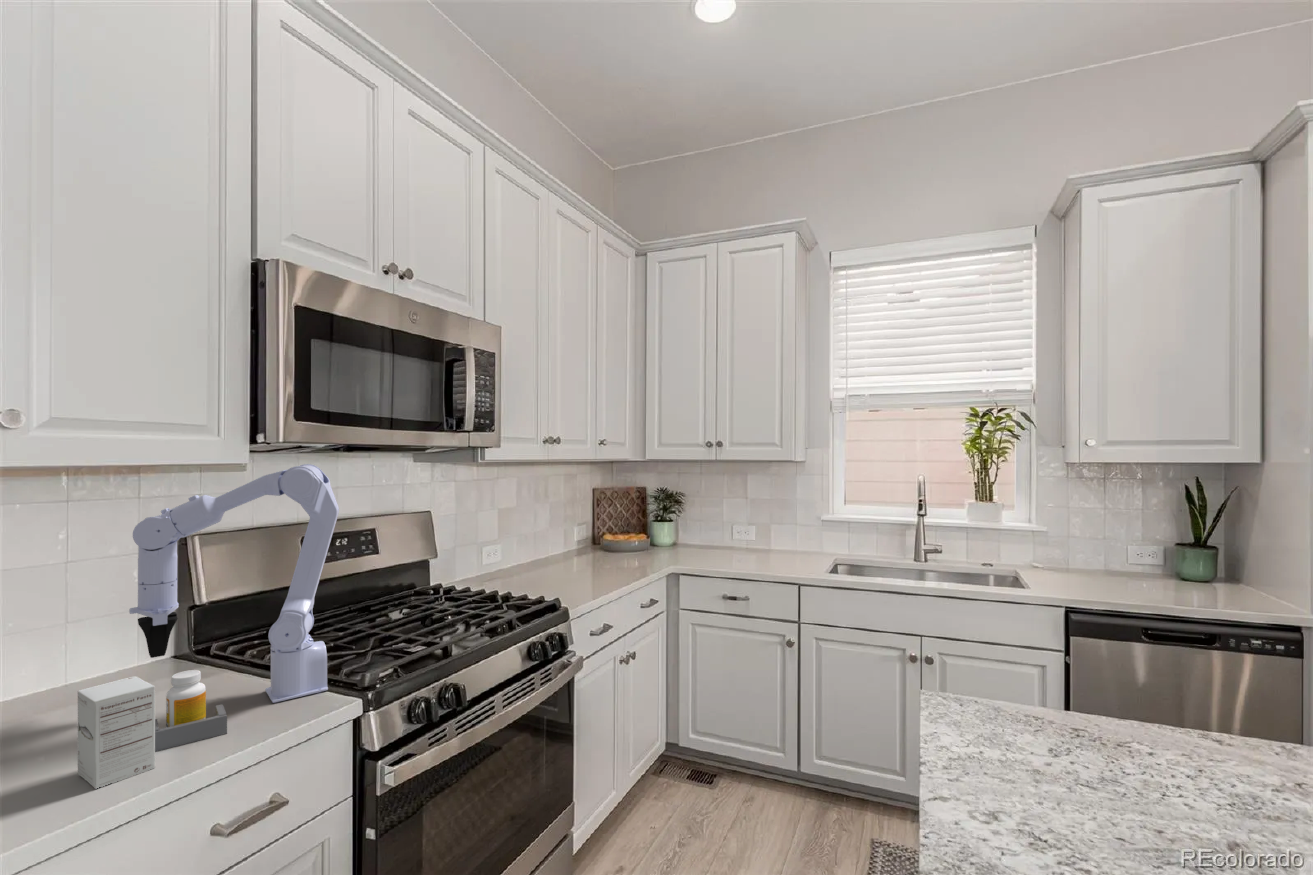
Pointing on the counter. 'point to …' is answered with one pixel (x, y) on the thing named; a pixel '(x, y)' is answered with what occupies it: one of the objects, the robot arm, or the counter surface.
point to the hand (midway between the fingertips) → (157, 655)
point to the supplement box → (116, 730)
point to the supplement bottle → (185, 698)
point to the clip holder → (191, 730)
